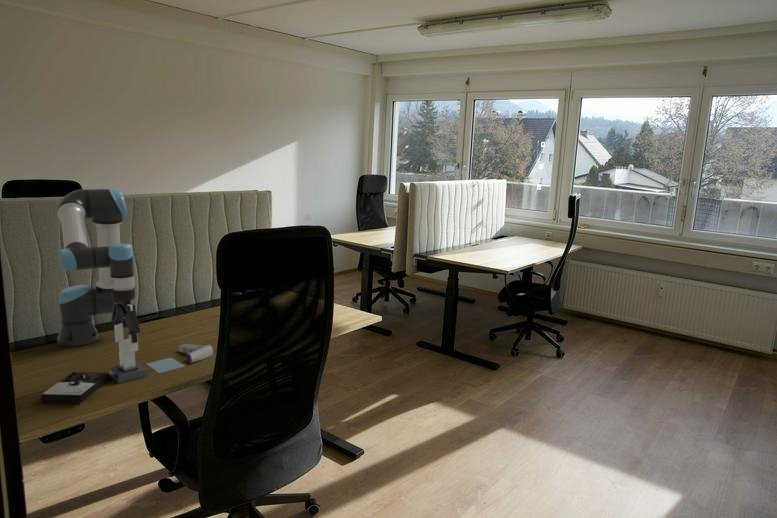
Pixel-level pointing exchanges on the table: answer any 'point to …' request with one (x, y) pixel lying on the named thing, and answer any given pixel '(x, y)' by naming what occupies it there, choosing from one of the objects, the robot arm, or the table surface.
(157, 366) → the slate mat
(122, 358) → the long steel block
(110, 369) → the socket block
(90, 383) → the multimeter
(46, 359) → the table surface
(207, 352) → the infrared thermometer
